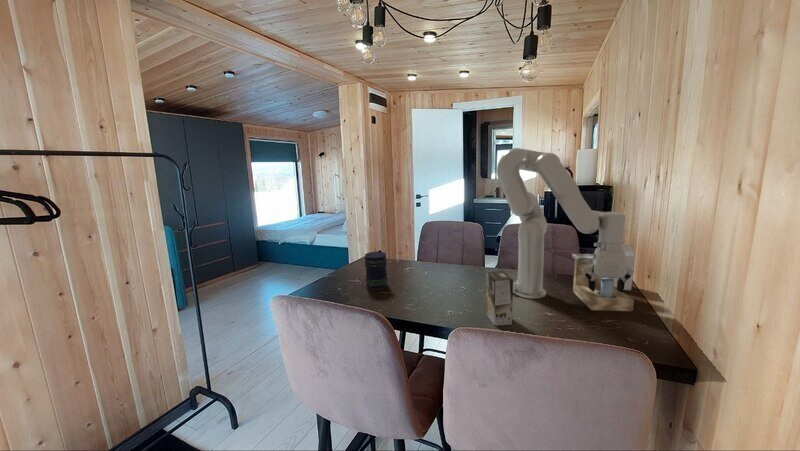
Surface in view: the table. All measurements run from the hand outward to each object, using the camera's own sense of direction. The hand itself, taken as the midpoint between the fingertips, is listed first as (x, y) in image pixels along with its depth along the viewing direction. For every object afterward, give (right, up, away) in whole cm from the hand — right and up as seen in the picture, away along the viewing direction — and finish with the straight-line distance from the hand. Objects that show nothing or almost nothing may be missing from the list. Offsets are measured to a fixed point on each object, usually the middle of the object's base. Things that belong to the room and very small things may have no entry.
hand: (605, 290), depth 123 cm
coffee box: (-42, -9, -8) cm, 44 cm away
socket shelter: (+1, -5, +5) cm, 7 cm away
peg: (0, -6, +1) cm, 6 cm away
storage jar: (-87, -4, +29) cm, 92 cm away
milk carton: (+16, -2, +17) cm, 24 cm away
